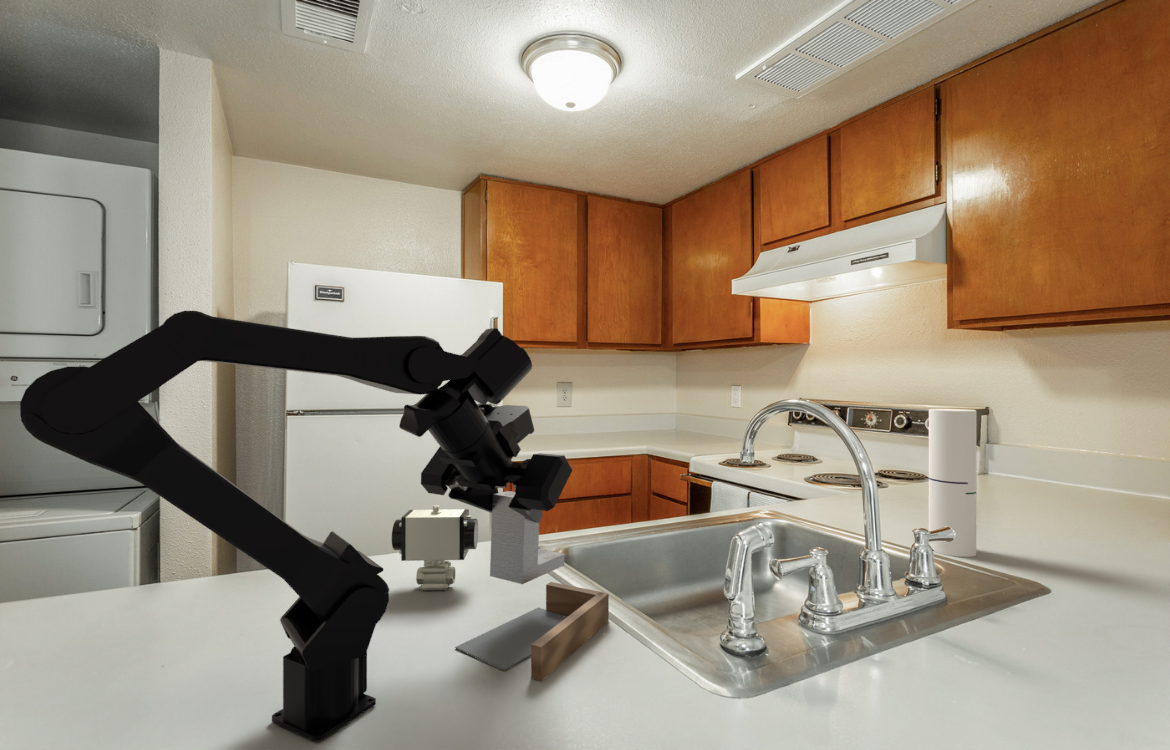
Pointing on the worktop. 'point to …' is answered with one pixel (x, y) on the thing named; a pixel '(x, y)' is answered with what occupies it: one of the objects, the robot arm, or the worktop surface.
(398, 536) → the pneumatic valve
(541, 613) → the mat
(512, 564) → the bracket
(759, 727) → the worktop surface
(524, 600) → the worktop surface
